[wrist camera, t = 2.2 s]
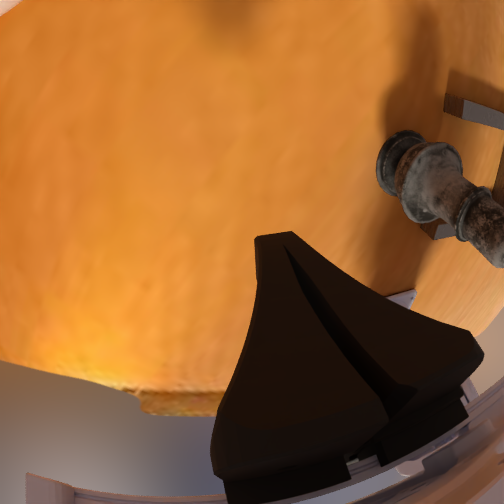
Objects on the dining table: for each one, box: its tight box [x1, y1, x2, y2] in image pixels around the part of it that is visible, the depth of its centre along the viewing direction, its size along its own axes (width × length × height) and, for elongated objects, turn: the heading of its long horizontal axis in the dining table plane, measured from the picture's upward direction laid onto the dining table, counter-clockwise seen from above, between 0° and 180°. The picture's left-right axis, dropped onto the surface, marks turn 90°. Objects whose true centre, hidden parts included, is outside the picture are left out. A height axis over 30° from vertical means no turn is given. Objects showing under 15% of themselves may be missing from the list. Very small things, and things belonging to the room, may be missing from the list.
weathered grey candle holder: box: [376, 130, 504, 268], centre depth 13 cm, size 6×6×12 cm
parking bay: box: [420, 94, 504, 240], centre depth 18 cm, size 12×12×3 cm
